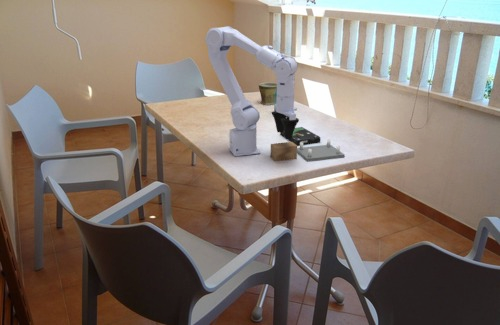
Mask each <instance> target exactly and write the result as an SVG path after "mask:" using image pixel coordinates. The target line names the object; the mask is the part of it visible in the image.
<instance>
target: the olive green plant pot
mask: <svg viewBox="0 0 500 325" xmlns="http://www.w3.org/2000/svg"><path fill="white" fill-rule="evenodd" d="M258 89H259V94H260V99H261V104H262V105H264V106H274V103H275V92H276V89H277V82H262V83H259V84H258Z"/></svg>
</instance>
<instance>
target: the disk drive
mask: <svg viewBox="0 0 500 325" xmlns="http://www.w3.org/2000/svg"><path fill="white" fill-rule="evenodd" d="M279 136H281V137H282V138H284V139H285V135H284V132H279ZM286 140H287V141H288V142H293V143H294V144H296V145H297V147H300V142H303V146H307V145H314V144H320V143H321V137H320V135H317V134H316V133H314V132H312V131H310V130H308V129H306V128H304V127H302V126H298V127H295V129H294V132H293V136H292V139H286Z"/></svg>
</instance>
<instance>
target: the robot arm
mask: <svg viewBox="0 0 500 325" xmlns="http://www.w3.org/2000/svg"><path fill="white" fill-rule="evenodd" d="M204 42H205V44H206V46H207V54H208V60H209V62H210V64H211V67H212V68H213V71H214V72H215V74H216V76H217V77H216V78H218V80H219V82H220V84H221V87H222V88H223V91H224V93H225V95H226V97H227V99H228V100H229V103H230V106H231V109H230V115H231V118H232V119H231V120H232V124H233V126H234V127H235V128H231V129H230V130H229V136H228V137H229V149H228V150H230V153H231V154H232V155H233V156H234V157H241V156H250V155H259V154H261V152H260V151H259V149H258V148H257V129H258V128H257V123H258V122H259V120H260V118H261V115H260V111H259V110H258V109H257V108H256V107H255V106H254V104H253V103H252V101H250V100H248V99H247V98H246V96H245V94H244V92H243V90H242V88H241V86H240V84H239V82H238V79H237V77H236V76H235V74H234V72H233V70H232V67H231V66H230V63H229V61H228V59H227V56H228V52H229V50H230V49H231V47H232V46H236V47H239V48H240V49H241V50H244V51H246V52H248V53H250V54H252V55H254V56H255V57H256V61H257V62H259V63H260V64H262V65H263V66H265V67H267V68H269V69H270V70H272V71H273V72H274V74H275V76H276V84H277V103H276V104H275V110H276V111H274V110H273V111H271V114H272V117H273V119H274V124H275V128H276V132H277V133H280V132H284V135H285V138H284V139H286V140H287V139H292V136H293V132H294V129H295V128H297V125H298V123H299V122H300V120H299V118H298V117H297V113H296V112H297V110H298V108H297V107H295V84H296V83H295V76H296V74H295V73H296V72H297V71H298V62H297V60H296V59H295V58H294V57H293V56H286V54H285V53H281V52H279V51H277V50H275V49H274V46H272V45H268V44H267V45H260V44H258V43H257V42H254V41H253V40H252V39H250V38H249V37H247V36H246V35H244V34H243V33H241V32H240V31H239V30H238V29H235V28H233V27H231V26H228V25H227V26H223V27H211V28H210V29H209V30H207V33H206V36H205V39H204Z"/></svg>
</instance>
